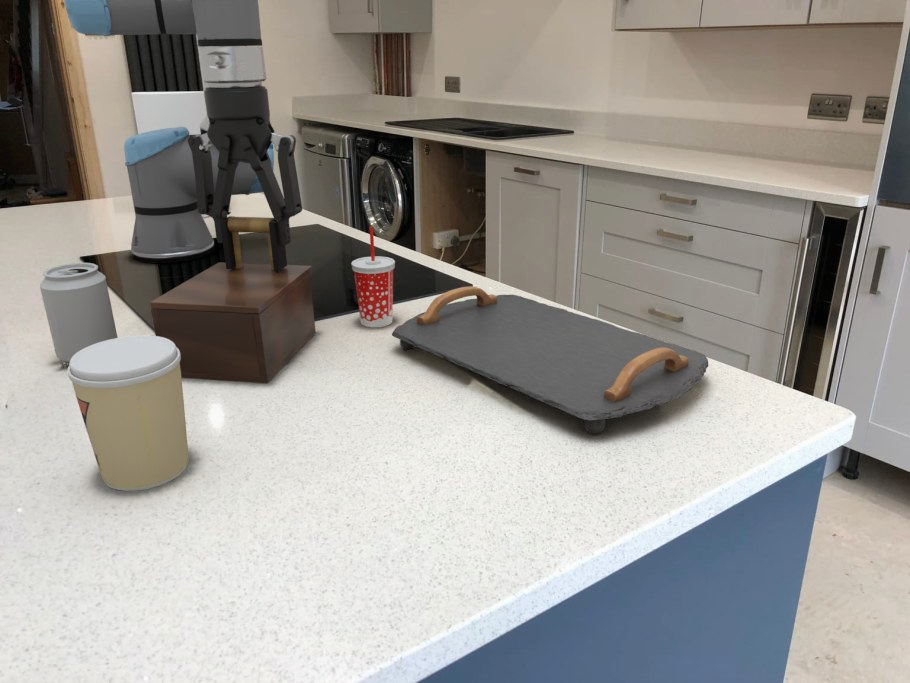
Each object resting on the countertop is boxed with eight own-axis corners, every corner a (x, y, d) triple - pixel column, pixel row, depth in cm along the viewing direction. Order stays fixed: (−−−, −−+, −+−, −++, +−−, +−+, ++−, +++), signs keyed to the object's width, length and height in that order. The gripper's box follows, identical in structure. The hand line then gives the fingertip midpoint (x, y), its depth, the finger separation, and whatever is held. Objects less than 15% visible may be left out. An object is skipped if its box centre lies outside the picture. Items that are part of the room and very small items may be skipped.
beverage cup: (374, 311, 110) (369, 220, 105) (406, 319, 107) (402, 225, 102) (346, 323, 106) (339, 228, 101) (378, 332, 103) (373, 234, 97)
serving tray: (375, 345, 98) (372, 301, 96) (498, 306, 112) (498, 267, 110) (610, 454, 71) (615, 397, 69) (732, 384, 85) (740, 335, 83)
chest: (225, 328, 105) (216, 269, 101) (315, 333, 102) (310, 273, 99) (162, 376, 90) (150, 308, 86) (267, 383, 87) (259, 314, 84)
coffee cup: (113, 446, 74) (89, 336, 69) (207, 441, 75) (190, 331, 70) (76, 499, 65) (46, 377, 61) (184, 493, 66) (162, 372, 61)
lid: (219, 267, 102) (211, 212, 99) (312, 271, 100) (307, 214, 97) (150, 308, 86) (139, 243, 83) (259, 313, 84) (251, 247, 81)
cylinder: (212, 218, 172) (195, 93, 162) (139, 219, 173) (117, 94, 162) (234, 204, 188) (219, 89, 178) (167, 204, 189) (149, 90, 178)
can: (133, 349, 98) (116, 262, 93) (90, 371, 91) (70, 279, 87) (88, 342, 100) (70, 257, 96) (44, 364, 94) (22, 273, 89)
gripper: (147, 86, 88) (177, 272, 96) (297, 86, 85) (314, 278, 93) (179, 83, 95) (204, 257, 103) (319, 82, 92) (333, 262, 100)
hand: (256, 266), depth 98 cm, fingers closed on lid, 6 cm apart
